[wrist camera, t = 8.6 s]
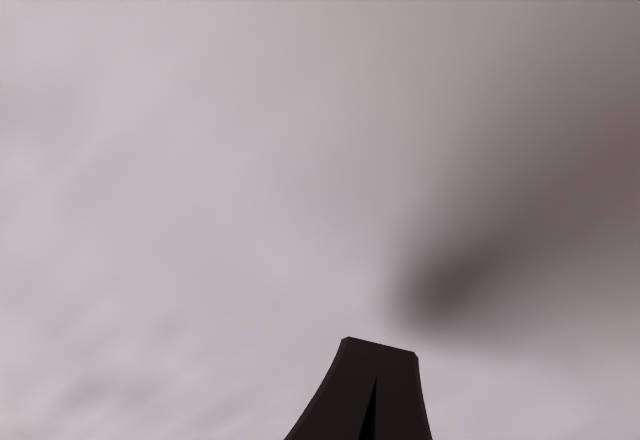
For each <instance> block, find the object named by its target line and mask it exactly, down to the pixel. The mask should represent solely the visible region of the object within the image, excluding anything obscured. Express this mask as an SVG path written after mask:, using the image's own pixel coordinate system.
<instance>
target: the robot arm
mask: <svg viewBox="0 0 640 440" xmlns="http://www.w3.org/2000/svg"><path fill="white" fill-rule="evenodd" d="M284 440H433V439H432V436H431V432H430V427H429V423H428V419H427V414H426V409H425V404H424V399H423V394H422V388H421V381H420V373H419V362H418V357H417V356H416V354H415V353H414V352H411V351H407V350H403V349H399V348H395V347H390V346H386V345H382V344H378V343H374V342H370V341H366V340H361V339H357V338H353V337H346V338H344V339H342V340H341V343H340V346H339V349H338V351H337V354H336V356H335V358H334V360H333V362H332V364H331V367H330V368H329V370H328V372H327V374H326V376H325V378H324V379H323V381H322V383H321V385H320V386H319V388H318V390H317V392H316V393H315V395H314V396H313V398H312V399H311V401H310V402H309V404H308V405H307V407H306V409H305V410H304V412H303V413H302V415H301V416H300V418H299V419H298V421H297V422H296V424H295V425H294V427H293V428H292V429H291V431H290V432H289V433H288V435H287V436H286V437H285V439H284Z"/></svg>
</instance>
